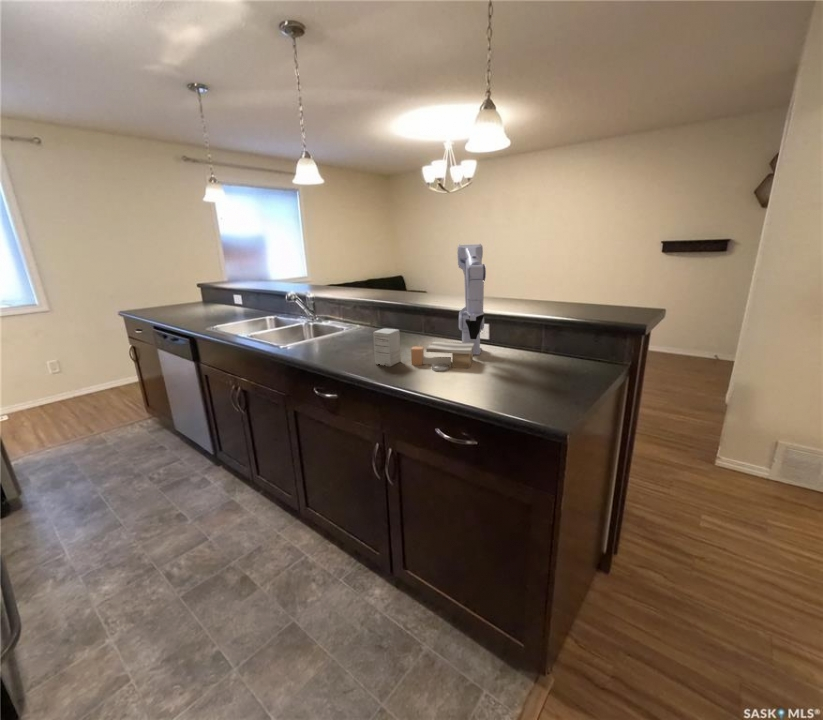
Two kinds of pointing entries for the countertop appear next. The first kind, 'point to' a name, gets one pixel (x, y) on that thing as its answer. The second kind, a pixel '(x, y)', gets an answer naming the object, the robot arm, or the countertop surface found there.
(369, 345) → the countertop surface
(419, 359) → the blade tool
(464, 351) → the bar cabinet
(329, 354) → the countertop surface
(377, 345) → the grey drawer cabinet
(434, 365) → the disc
